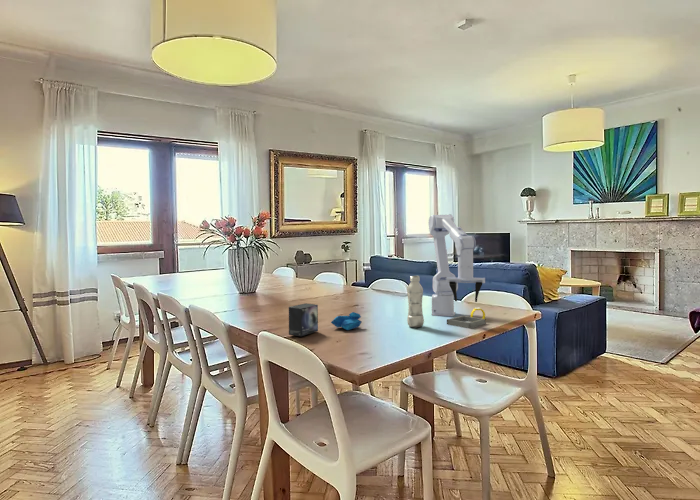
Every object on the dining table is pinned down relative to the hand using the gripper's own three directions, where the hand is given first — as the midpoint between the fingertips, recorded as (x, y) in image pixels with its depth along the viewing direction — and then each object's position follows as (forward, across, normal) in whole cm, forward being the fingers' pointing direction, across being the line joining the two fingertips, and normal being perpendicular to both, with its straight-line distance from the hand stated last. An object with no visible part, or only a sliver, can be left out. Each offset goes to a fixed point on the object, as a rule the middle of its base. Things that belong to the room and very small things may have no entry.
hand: (465, 301), depth 171 cm
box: (+10, 0, 0) cm, 10 cm away
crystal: (+7, -39, -11) cm, 42 cm away
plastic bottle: (+10, -19, -7) cm, 22 cm away
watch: (+10, +4, +8) cm, 13 cm away
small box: (+10, -58, -27) cm, 64 cm away
